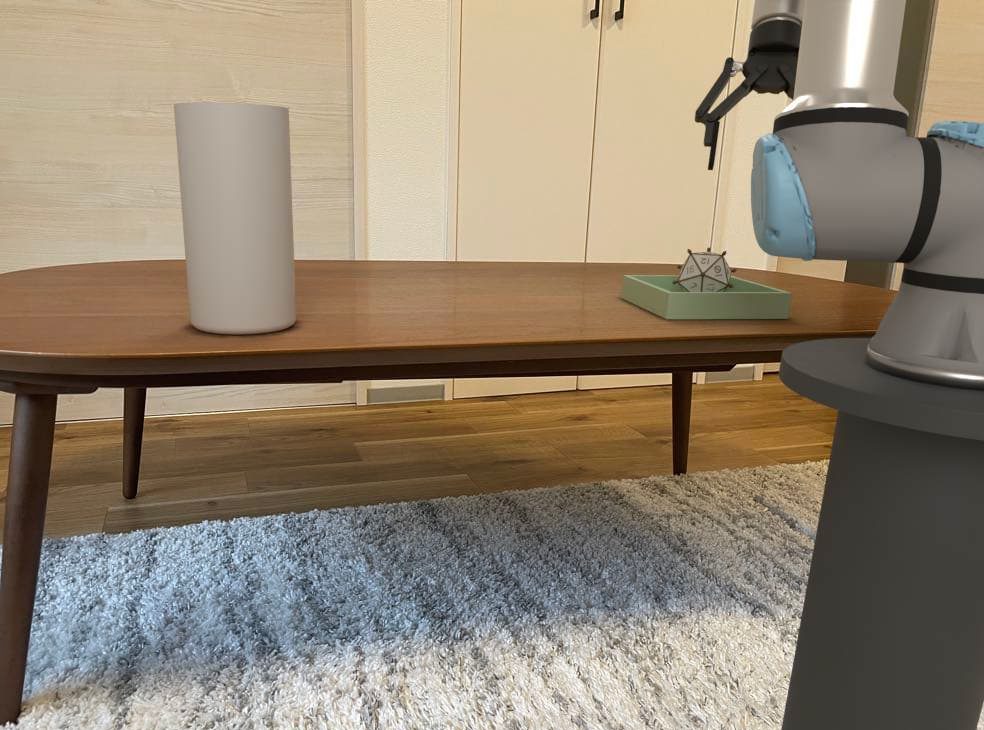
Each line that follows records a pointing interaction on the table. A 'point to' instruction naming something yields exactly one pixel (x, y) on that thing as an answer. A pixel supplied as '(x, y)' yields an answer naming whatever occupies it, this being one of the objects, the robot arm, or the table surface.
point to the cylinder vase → (237, 216)
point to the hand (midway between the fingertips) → (758, 169)
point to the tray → (706, 299)
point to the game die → (705, 272)
